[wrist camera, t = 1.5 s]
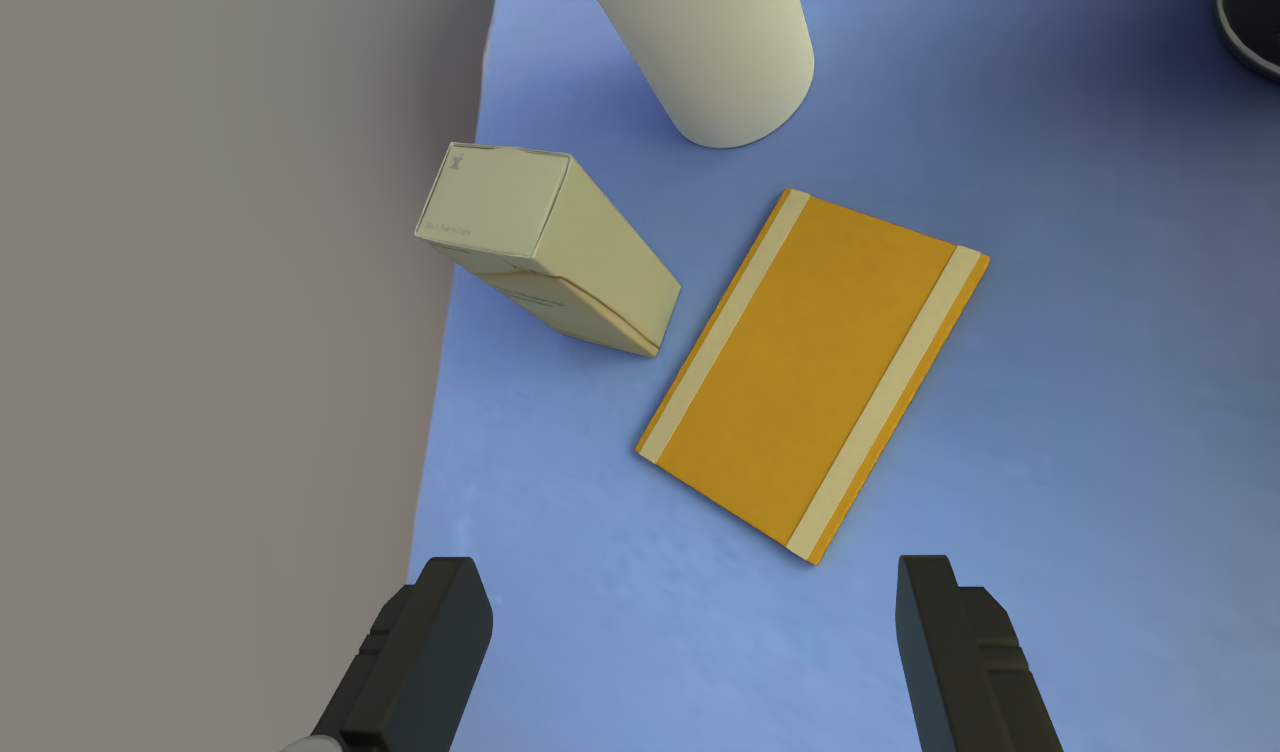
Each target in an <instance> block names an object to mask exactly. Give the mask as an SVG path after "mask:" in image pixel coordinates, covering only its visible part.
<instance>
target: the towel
mask: <svg viewBox="0 0 1280 752" xmlns="http://www.w3.org/2000/svg"><path fill="white" fill-rule="evenodd" d="M989 264H990V257H988V256H985V255H982V254H981V252H978V251H975V250H972V249H969V248H966V247H963V246H960V245H958V246H956V245H953V244H950V243H947V242H944V241H941V240H938V239H935V238H933V237H930V236H927V235H924V234H921V233H918V232H915V231H912V230H909V229H906V228H903V227H900V226H897V225H894V224H891V223H888V222H886V221H883V220H880V219H877V218H874V217H871V216H868V215H865V214H862V213H859V212H856V211H853V210H850V209H847V208H844V207H841V206H839V205H836V204H833V203H830V202H827V201H824V200H821V199H818V198H815V197H812V196H811V195H810V194H807V193H804V192H801V191H798V190H795V189H789V188H786V189H785V190H784V192H783V194H782V195H781V197H780V199H779V201H778V202H777V204H776V206H775V207H774V209H773V211H772V213H771V214H770V216H769V218H768V220H767V221H766V223H765V225H764V226H763V228H762V230H761V232H760V233H759V235H758V237H757V238H756V240H755V242H754V244H753V245H752V247H751V249H750V251H749V252H748V254H747V256H746V257H745V259H744V261H743V263H742V264H741V266H740V268H739V269H738V271H737V273H736V275H735V276H734V278H733V280H732V282H731V283H730V285H729V287H728V288H727V290H726V292H725V294H724V295H723V297H722V299H721V301H720V302H719V304H718V306H717V307H716V309H715V311H714V313H713V314H712V316H711V318H710V319H709V321H708V323H707V325H706V326H705V328H704V330H703V332H702V333H701V335H700V337H699V338H698V340H697V342H696V344H695V345H694V347H693V349H692V351H691V352H690V354H689V356H688V357H687V359H686V361H685V363H684V364H683V366H682V368H681V369H680V371H679V373H678V375H677V376H676V378H675V380H674V382H673V383H672V385H671V387H670V388H669V390H668V392H667V394H666V395H665V397H664V399H663V400H662V402H661V404H660V406H659V407H658V409H657V411H656V413H655V414H654V416H653V418H652V419H651V421H650V423H649V425H648V426H647V428H646V430H645V432H644V433H643V435H642V437H641V438H640V440H639V442H638V444H637V445H636V447H635V449H634V451H636V452H637V453H639V454H640V455H641V456H643V457H645V458H646V459H648V460H649V461H651V462H652V463H654V464H656V465H657V466H659V467H661V468H662V469H664V470H665V471H667V472H668V473H670V474H672V475H673V476H675V477H676V478H678V479H679V480H681V481H683V482H684V483H686V484H687V485H689V486H690V487H692V488H694V489H695V490H697V491H698V492H700V493H701V494H703V495H705V496H706V497H708V498H709V499H711V500H712V501H714V502H716V503H717V504H719V505H720V506H722V507H723V508H725V509H726V510H728V511H730V512H731V513H733V514H734V515H736V516H737V517H739V518H741V519H742V520H744V521H745V522H747V523H748V524H750V525H752V526H753V527H755V528H756V529H758V530H759V531H761V532H763V533H764V534H766V535H767V536H769V537H770V538H772V539H774V540H775V541H777V542H778V543H780V544H781V545H783V546H784V547H786V548H787V549H789V550H790V551H792V552H793V553H795V554H797V555H798V556H800V557H801V558H803V559H804V560H806V561H808V562H810V563H811V564H813V565H818V564H819V562H820V560H821V558H822V557H823V555H824V553H825V551H826V550H827V548H828V546H829V544H830V543H831V541H832V539H833V537H834V535H835V534H836V532H837V530H838V528H839V527H840V525H841V523H842V521H843V520H844V518H845V516H846V514H847V513H848V511H849V509H850V507H851V506H852V504H853V502H854V500H855V499H856V497H857V495H858V493H859V492H860V490H861V488H862V486H863V485H864V483H865V481H866V479H867V478H868V476H869V474H870V472H871V471H872V469H873V467H874V465H875V464H876V462H877V460H878V458H879V457H880V455H881V453H882V451H883V450H884V448H885V446H886V444H887V443H888V441H889V439H890V437H891V435H892V434H893V432H894V430H895V428H896V427H897V425H898V423H899V421H900V420H901V418H902V416H903V414H904V413H905V411H906V409H907V407H908V406H909V404H910V402H911V400H912V399H913V397H914V395H915V393H916V392H917V390H918V388H919V386H920V385H921V383H922V381H923V379H924V378H925V376H926V374H927V372H928V371H929V369H930V367H931V365H932V364H933V362H934V360H935V358H936V357H937V355H938V353H939V351H940V350H941V348H942V346H943V344H944V342H945V341H946V339H947V337H948V335H949V334H950V332H951V330H952V328H953V327H954V325H955V323H956V321H957V320H958V318H959V316H960V314H961V313H962V311H963V309H964V307H965V306H966V304H967V302H968V300H969V299H970V297H971V295H972V293H973V292H974V290H975V288H976V286H977V285H978V283H979V281H980V279H981V278H982V276H983V274H984V272H985V271H986V269H987V267H988V265H989Z"/></svg>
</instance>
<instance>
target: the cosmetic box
mask: <svg viewBox="0 0 1280 752" xmlns="http://www.w3.org/2000/svg"><path fill="white" fill-rule="evenodd" d="M414 235H415V236H416V237H418V238H419V239H421V240H422V241H424V242H425V243H427V244H429V245H430V246H432V247H433V248H435V249H436V250H438V251H439V252H441V253H442V254H444V255H445V256H447V257H449V258H450V259H452V260H453V261H454V262H456V263H457V264H459V265H460V266H462V267H463V268H465V269H466V270H468V271H469V272H471V273H472V274H474V275H475V276H477V277H478V278H480V279H481V280H483V281H484V282H486V283H487V284H489V285H490V286H492V287H493V288H495V289H496V290H498V291H499V292H501V293H502V294H504V295H505V296H506V297H508V298H509V299H511V300H512V301H514V302H515V303H517V304H518V305H520V306H521V307H523V308H524V309H526V310H527V311H528V312H530V313H531V314H533V315H534V316H536V317H537V318H539V319H540V320H542V321H543V322H545V323H546V324H548V325H549V326H551V327H552V328H554V329H555V330H556V331H558V332H559V333H561V334H563V335H567V336H570V337H574V338H577V339H581V340H584V341H588V342H592V343H595V344H599V345H603V346H607V347H610V348H614V349H618V350H622V351H626V352H630V353H634V354H638V355H642V356H647V357H651V358H655V357H656V356H657V354H658V350H659V348H660V345H661V343H662V340H663V337H664V334H665V332H666V329H667V326H668V323H669V320H670V318H671V315H672V312H673V309H674V306H675V303H676V301H677V298H678V295H679V292H680V289H681V285H680V284H679V282H678V281H677V280H676V279H675V278H674V277H673V275H672V274H671V273H670V272H669V271H668V269H667V268H666V267H665V266H664V265H663V263H662V262H661V261H660V260H659V259H658V257H657V256H656V255H655V254H654V253H653V252H652V250H651V249H650V248H649V247H648V246H647V245H646V243H645V242H644V241H643V240H642V239H641V237H640V236H639V235H638V234H637V233H636V231H635V230H634V229H633V228H632V227H631V225H630V224H629V223H628V222H627V221H626V220H625V218H624V217H623V216H622V215H621V213H620V212H619V211H618V210H617V209H616V208H615V206H614V205H613V204H612V203H611V202H610V200H609V199H608V198H607V197H606V196H605V195H604V193H603V192H602V191H601V190H600V189H599V187H598V186H597V185H596V184H595V183H594V181H593V180H592V179H591V178H590V177H589V175H588V174H587V173H586V172H585V171H584V170H583V168H582V167H581V166H580V165H579V163H578V162H577V161H576V160H575V159H574V158H573V156H572V155H571V154H568V153H561V152H552V151H544V150H535V149H526V148H518V147H509V146H495V145H482V144H469V143H458V142H452V143H450V145H449V148H448V150H447V153H446V155H445V158H444V160H443V162H442V165H441V167H440V170H439V172H438V175H437V177H436V179H435V182H434V184H433V187H432V189H431V192H430V194H429V196H428V198H427V201H426V203H425V206H424V209H423V211H422V214H421V216H420V219H419V221H418V224H417V226H416V229H415V231H414Z"/></svg>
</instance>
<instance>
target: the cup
mask: <svg viewBox="0 0 1280 752" xmlns="http://www.w3.org/2000/svg"><path fill="white" fill-rule="evenodd" d="M598 1H599V3H600V5H601V6H602V8H603V9H604V11H605V13H606V14H607V16H608V18H609V19H610V21H611V22H612V24H613V26H614V27H615V29H616V31H617V32H618V34H619V36H620V37H621V39H622V40H623V42H624V44H625V45H626V47H627V49H628V50H629V52H630V53H631V55H632V57H633V58H634V60H635V62H636V63H637V65H638V66H639V68H640V70H641V71H642V73H643V75H644V76H645V78H646V80H647V81H648V83H649V84H650V86H651V88H652V89H653V91H654V93H655V94H656V96H657V97H658V99H659V101H660V102H661V104H662V106H663V107H664V109H665V110H666V112H667V114H668V115H669V117H670V119H671V120H672V122H673V124H674V125H675V127H676V128H677V129H678V131H679V132H680V133H681V134H682V135H683V136H684V137H686V138H687V139H689V140H690V141H692V142H694V143H696V144H699V145H701V146H705V147H710V148H732V147H738V146H742V145H745V144H748V143H751V142H754V141H756V140H759V139H760V138H762V137H764V136H766V135H768V134H770V133H771V132H773V131H774V130H776V129H777V128H778V127H780V126H781V125H782V124H783V123H784V122H786V121H787V120H788V119H789V118H790V117H791V116H792V114H793V113H794V112H795V111H796V110H797V108H798V107H799V106H800V104H801V103H802V101H803V100H804V98H805V96H806V94H807V92H808V90H809V88H810V85H811V82H812V79H813V74H814V65H815V62H814V53H813V48H812V44H811V40H810V37H809V33H808V29H807V25H806V21H805V18H804V14H803V10H802V6H801V2H800V0H598Z"/></svg>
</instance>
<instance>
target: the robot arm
mask: <svg viewBox="0 0 1280 752" xmlns="http://www.w3.org/2000/svg"><path fill="white" fill-rule="evenodd" d="M1213 14H1214V20H1215V25H1216V28H1217V30H1218V33H1219V35H1220V37H1221V39H1222V40H1223V42H1224V44H1225V45H1226V46H1227V48H1228V49H1229V50H1230V52H1231V53H1232V54H1233V55H1234V56H1235V57H1236V58H1237V59H1238V60H1240V61H1241V62H1242V63H1244V64H1245V65H1246V66H1247V67H1249V68H1250V69H1252V70H1254V71H1255V72H1257V73H1259V74H1261V75H1263V76H1265V77H1267V78H1269V79H1271V80H1273V81H1276V82H1279V83H1280V0H1213ZM895 621H896V634H897V641H898V647H899V652H900V656H901V661H902V665H903V670H904V674H905V678H906V683H907V687H908V692H909V696H910V700H911V705H912V709H913V714H914V718H915V722H916V727H917V731H918V736H919V740H920V744H921V749H922V752H1064V751H1063V749H1062V747H1061V744H1060V742H1059V739H1058V737H1057V734H1056V732H1055V729H1054V727H1053V724H1052V722H1051V720H1050V717H1049V715H1048V712H1047V710H1046V707H1045V705H1044V702H1043V700H1042V697H1041V695H1040V693H1039V690H1038V688H1037V685H1036V683H1035V680H1034V678H1033V675H1032V673H1031V672H1030V671H1029V668H1028V663H1027V661H1026V658H1025V656H1024V653H1023V651H1022V648H1021V647H1019V641H1018V638H1017V636H1016V634H1015V631H1014V629H1013V626H1012V624H1011V621H1010V619H1009V616H1008V614H1007V612H1006V611H1005V610H1004V609H1003V607H1002V606H1001V605H1000V604H999V603H998V602H997V601H996V600H995V599H994V598H993V597H992V596H991V595H990V594H989V593H988V591H987V590H986V589H985V588H984V587H958V584H957V582H956V579H955V576H954V573H953V570H952V567H951V564H950V562H949V559H948V558H947V556H946V555H901V556H900V558H899V566H898V581H897V596H896V611H895ZM492 629H493V613H492V609H491V605H490V603H489V600H488V597H487V595H486V592H485V589H484V587H483V584H482V581H481V579H480V576H479V573H478V571H477V568H476V565H475V563H474V561H473V559H472V558H470V557H433V558H431V559H430V560H429V561H428V562H427V563H426V565H425V567H424V568H423V570H422V572H421V574H420V576H419V578H418V580H417V582H416V583H415V585H404V586H403V587H402V588H401V589H400V590H399V591H398V592H397V593H396V594H395V595H394V596H393V597H392V598H391V599H390V600H389V601H388V602H387V603H386V604H385V605H384V606H383V608H382V609H381V612H380V613H379V615H378V617H377V618H376V620H375V622H374V624H373V626H372V628H371V629H370V634H369V635H367V636H366V638H365V640H364V642H363V643H362V645H361V647H360V649H359V654H358V655H356V656H355V658H354V659H353V661H352V663H351V665H350V667H349V668H348V670H347V672H346V674H345V676H344V677H343V679H342V681H341V683H340V684H339V686H338V688H337V690H336V691H335V693H334V695H333V697H332V699H331V700H330V702H329V704H328V706H327V707H326V710H325V711H324V713H323V715H322V717H321V718H320V720H319V722H318V724H317V725H316V727H315V729H314V730H313V732H312V733H311V735H310V736H308V737H304V738H302V739H299V740H297V741H295V742H293V743H292V744H290V745H288V746H287V747H286V748H284V749H283V750H281V751H280V752H449V749H450V747H451V744H452V741H453V739H454V736H455V733H456V731H457V728H458V725H459V723H460V720H461V717H462V715H463V712H464V709H465V707H466V704H467V701H468V699H469V696H470V693H471V691H472V688H473V685H474V683H475V680H476V677H477V675H478V672H479V669H480V667H481V664H482V661H483V659H484V656H485V653H486V651H487V648H488V645H489V643H490V639H491V635H492Z"/></svg>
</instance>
